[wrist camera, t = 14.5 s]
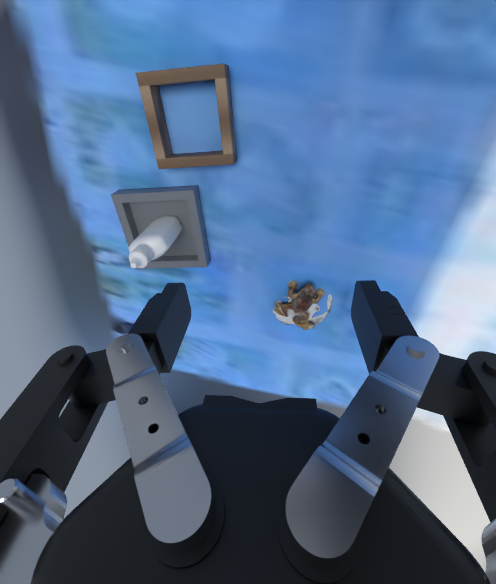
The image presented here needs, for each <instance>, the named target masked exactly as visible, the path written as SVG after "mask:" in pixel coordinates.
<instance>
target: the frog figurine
mask: <svg viewBox="0 0 496 584" xmlns="http://www.w3.org/2000/svg"><path fill="white" fill-rule="evenodd" d="M297 286H298V282H296V281H294V280H291V281H290V282H289V283H288V288H289V290H288V297H287V298H289V299H290V300H289V301H288V304H283V303H282V302H281V301H276V302H275V308H274V309H273V313H274V314H276V318H277V319H278V320H280V322H282V323H284V324H287V325H290V324H293V325H294V324H296V325H297V326H299V327H301V328H303V330H307V329H313V328H314V327H315V325H317V324H318V323H320V322H321V321H323V320H324V318H325V316H326V315H327V314H328V313H329V311H330V310H331V307H332V296H331V295H329V296H328V302H327V305H328V312H325V313H324V314H322V315H319V316H316V317H314V318H312V316H313V314H314V313H315V312H317V311H319V310H320V308H319V306H318V305H317V303H318V301H319V300H320V299H321V298H322V296H324V295H325V292H324V290H323V289H322V287H321V288H320V289H318V290H317V291H315V288H314V287H313V285H311V284H306V286H304V287H303V288H302V289H301V290H300V291H299V292H297V293H293V290H297ZM315 297H317V298H316V299H315ZM284 298H285V297H284Z"/></svg>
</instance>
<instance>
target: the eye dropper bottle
mask: <svg viewBox="0 0 496 584" xmlns="http://www.w3.org/2000/svg"><path fill="white" fill-rule="evenodd" d="M182 229H183V228H182V225H181V223H180V221H179V220H178V218H177V217H175V216H165V217H161V218H158V219H156V220H155V221H153V222H152V223H151V224H150V225H149V226H148V227H147V228H146V229H145V230H144V231H143V232H142V233H141V234H140V235H139V236H138V237H137V238H136V239H135V240H134V241H133V242H132V243H131V244H130V246H129V252H130V254H129V261H130V263H131V267H132V268H136V267H137V268H144V267H146V266H147V265H148V263H149V262H150V261H151V260H154V259H157V258H159V257H160V256H162V255H163V254H164V253H165V252H166V251H167V250H168V249H169V247H170V246H171V245H172V243H173V242H174V241H175V239H176V238H177V237H178V235H179V234H180V232H181V231H182Z"/></svg>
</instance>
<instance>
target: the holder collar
mask: <svg viewBox="0 0 496 584" xmlns="http://www.w3.org/2000/svg"><path fill="white" fill-rule="evenodd" d="M136 76H137V80H138V84H139V88H140V93H141V97H142V101H143V105H144V109H145V113H146V118H147V122H148V126H149V130H150V134H151V139H152V143H153V147H154V151H155V155H156V160H157V164H158V168H159V169H166V168H182V167H198V166H213V165H229V164H234V163H235V162H236V160H237V157H236V146H235V135H234V124H233V112H232V101H231V90H230V79H229V68H228V65H226V64H216V65H206V66H197V67H187V68H178V69H168V70H159V71H149V72H140V73H136ZM214 80H215V85H216V94H217V103H218V112H219V121H220V129H221V138H222V147H223V151H211V152H197V153H183V154H172V149H171V144H170V139H169V134H168V130H167V125H166V120H165V115H164V110H163V105H162V101H161V96H160V91H159V86H164V85H174V84H184V83H194V82H204V81H214Z"/></svg>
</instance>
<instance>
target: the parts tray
mask: <svg viewBox="0 0 496 584" xmlns="http://www.w3.org/2000/svg"><path fill="white" fill-rule="evenodd" d="M111 196H112V199H113V202H114V205H115V208H116V211H117V214H118V217H119V220H120V222H121V225H122V228H123V231H124V234H125V237H126V240H127V243H128V245H129V246H130V244H131V243H132V242H133V241H134V240H135V239H136V238H137V237H138V236H139V235H140V234H141V233H142V232H143V231H144V230H145V229H146V228H147V227H148V226H149V225H150V224H151V223H152V222H153V221H155V220H156V219H158V218H161V217H165V216H175V217H177V218H178V220H179V221H180V223H181V225H182V228H183V229H182V231H181V232H180V234H179V235H178V237H177V238H176V239H175V241H174V242H173V243H172V245H171V246H170V247H169V249H168V250H167V251H166V252H165V253H164V254H163V255H162V256H160V257H159V258H157V259H154V260H151V261H150V262H149V263H148V265H147V266H146V267H144V268H180V267H207V266H208V264H209V262H210V254H209V248H208V243H207V237H206V231H205V225H204V219H203V213H202V207H201V201H200V196H199V190H198V185H197V186H179V187H161V188H143V189H125V190H118V191H116V192H115V193H113V194H111ZM136 268H137V267H136Z"/></svg>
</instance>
